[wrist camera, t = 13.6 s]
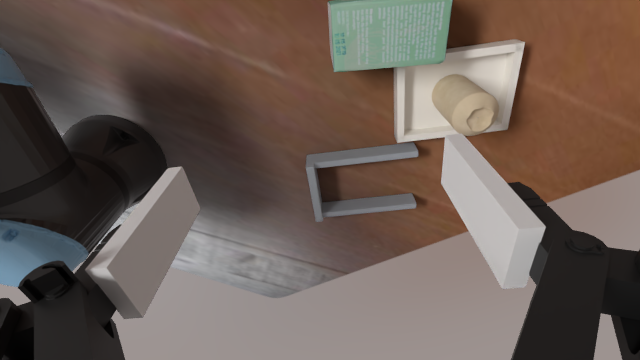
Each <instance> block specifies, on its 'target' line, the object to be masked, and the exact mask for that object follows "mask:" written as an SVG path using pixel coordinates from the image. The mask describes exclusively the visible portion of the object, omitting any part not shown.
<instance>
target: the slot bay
mask: <svg viewBox="0 0 640 360" xmlns="http://www.w3.org/2000/svg"><path fill="white" fill-rule="evenodd" d="M412 157H418V150H417V148H416V146H415V144H414V142H411V143H403V144H395V145H386V146H378V147H369V148H361V149H352V150H344V151H335V152H327V153H318V154H310V155H307V159H306V171H307V176H308V182H309V187H310V192H311V198H312V203H313V208H314V214H315V219H316V222H320V221H323V217H332V216H342V215H352V214H362V213H372V212H382V211H392V210H402V209H412V208H416V201H415V199H414V197H413V194H412V193H408V194H399V195H389V196H380V197H370V198H361V199H351V200H342V201H332V202H323V203H322V198H321V192H320V186H319V180H318V174H317V168H324V167H333V166H342V165H350V164H359V163H368V162H377V161H385V160H394V159H403V158H412Z"/></svg>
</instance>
